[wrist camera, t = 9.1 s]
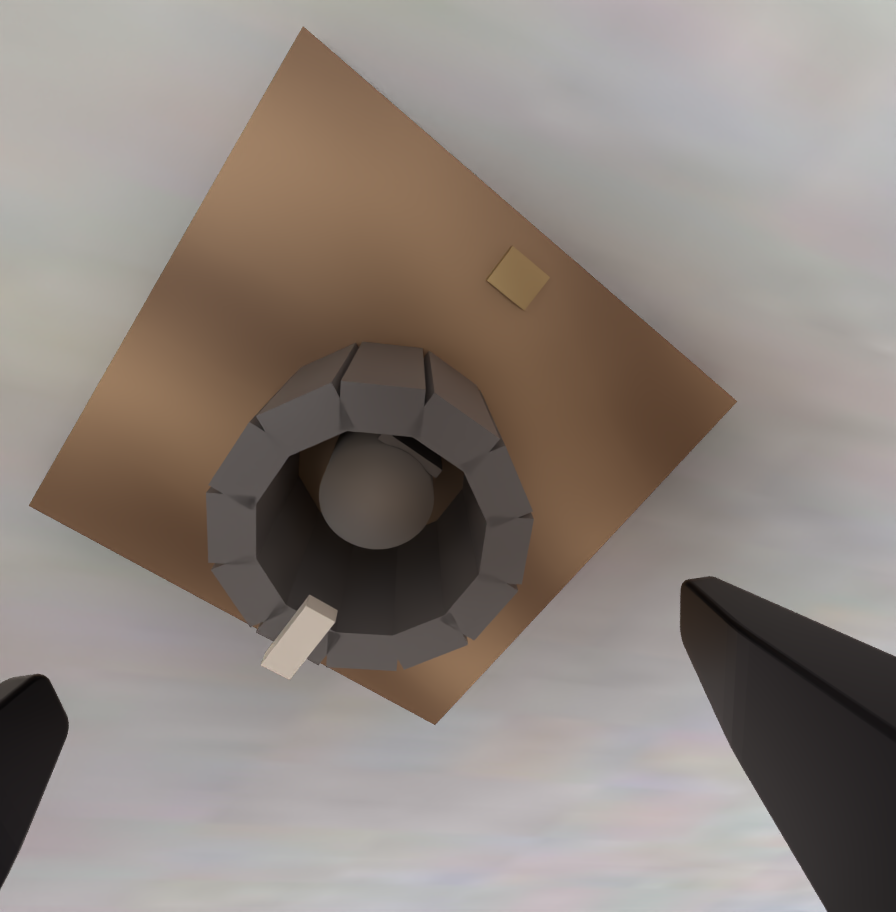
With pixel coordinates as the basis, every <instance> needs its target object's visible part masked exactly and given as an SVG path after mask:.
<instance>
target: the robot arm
mask: <svg viewBox="0 0 896 912" xmlns="http://www.w3.org/2000/svg"><path fill="white" fill-rule="evenodd" d="M680 632H681V637H682V641H683V644H684V647H685V649H686V651H687V653H688V656H689V658H690V660H691V662H692V664H693V667H694V669H695V671H696V673H697V675H698V677H699V680H700V682H701V684H702V686H703V688H704V691H705V693H706V695H707V697H708V699H709V701H710V704H711V706H712V708H713V710H714V712H715V715H716V717H717V719H718V721H719V723H720V726H721V728H722V730H723V732H724V734H725V736H726V738H727V740H728V742H729V744H730V746H731V748H732V750H733V752H734V754H735V755H736V757H737V759H738V761H739V763H740V764H741V766H742V768H743V770H744V771H745V773H746V775H747V776H748V778H749V780H750V781H751V783H752V785H753V787H754V788H755V790H756V792H757V793H758V795H759V797H760V798H761V800H762V802H763V803H764V805H765V807H766V809H767V810H768V812H769V814H770V815H771V817H772V819H773V820H774V822H775V824H776V826H777V827H778V829H779V831H780V832H781V834H782V836H783V837H784V839H785V841H786V842H787V844H788V846H789V848H790V849H791V851H792V853H793V854H794V856H795V858H796V859H797V861H798V863H799V864H800V866H801V868H802V870H803V871H804V873H805V875H806V876H807V878H808V880H809V881H810V883H811V885H812V887H813V888H814V890H815V892H816V893H817V895H818V897H819V898H820V900H821V902H822V903H823V905H824V907H825V909H826V910H827V912H896V657H895V656H893V655H891V654H889V653H886V652H884V651H882V650H879V649H877V648H875V647H873V646H870V645H868V644H866V643H864V642H861V641H859V640H857V639H854V638H852V637H850V636H848V635H845V634H843V633H841V632H839V631H836V630H834V629H832V628H829V627H827V626H825V625H823V624H820V623H818V622H816V621H814V620H811V619H809V618H807V617H804V616H802V615H800V614H798V613H795V612H793V611H791V610H789V609H786V608H784V607H782V606H779V605H777V604H775V603H773V602H770V601H768V600H766V599H764V598H761V597H759V596H757V595H754V594H752V593H750V592H748V591H745V590H743V589H741V588H739V587H736V586H734V585H732V584H729V583H727V582H725V581H723V580H720V579H718V578H716V577H711V576H708V577H701V578H695V579H688V580H685V581H684V582H683V583H682V586H681V595H680ZM68 729H69V722H68V717H67V715H66V712H65V710H64V708H63V706H62V704H61V702H60V700H59V698H58V696H57V694H56V692H55V690H54V688H53V686H52V684H51V682H50V680H49V679H48V678H47V677H46V676H44V675H41V674H33V675H26V676H19V677H13V678H10V679H8V680H6V681H4V682H2V683H0V889H1V887H2V885H3V884H4V882H5V880H6V878H7V876H8V874H9V872H10V870H11V868H12V866H13V863H14V861H15V859H16V857H17V855H18V853H19V851H20V849H21V846H22V844H23V842H24V840H25V837H26V835H27V833H28V830H29V828H30V825H31V823H32V821H33V818H34V816H35V813H36V811H37V808H38V806H39V803H40V801H41V799H42V796H43V794H44V791H45V789H46V786H47V784H48V781H49V779H50V777H51V774H52V772H53V769H54V767H55V764H56V762H57V760H58V757H59V755H60V752H61V750H62V747H63V745H64V742H65V740H66V737H67V734H68Z"/></svg>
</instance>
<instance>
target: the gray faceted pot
mask: <svg viewBox="0 0 896 912" xmlns="http://www.w3.org/2000/svg"><path fill="white" fill-rule="evenodd" d="M346 431H353V432H364V433H375V434H386V435H397V436H408V437H413V438H415V439H416V440H418V441H419V442H420V443H422V444H423V445H425V446H426V447H428V448H429V449H431V450H432V451H434V452H435V453H437V454H438V455H440V456H441V457H443V458H444V459H446V460H447V461H449V462H450V463H452V464H453V465H455V466H456V467H457V468H459V469H460V470H462V471H463V472H464V480H463V487H462V490H461V491H460V492H459V494H458V495H457V496H456V497H455V499H454V500H453V501H452V502H451V504H450V505H449V506H448V507H447V509H446V510H445V511H444V512H443V514H442V515H441V516H440V517H439V518H438V520H437V521H435V522H432V523H430V524H427V525H425V527H424V528H423V529H422V530H421V531H420V532H419V534H417V535H416V536H415V537H414V538H412V539H411V540H409V541H408V542H406V543H404V544H401V545H399V546H396V547H392V548H387V549H368V548H363V547H359V546H356V545H354V544H351V543H349V542H347V541H345V540H344V539H342V538H341V537H340V536H338V535H337V534H336V533H335V532H334V531H333V530H332V529H331V528H330V526H329V525H328V524H327V522H326V520H325V519H324V516H323V514H322V513H321V512H320V511H319V509H318V508H317V506H316V504H315V503H314V501H313V499H312V497H311V496H310V494H309V492H308V490H307V489H306V487H305V485H304V484H303V482H302V480H301V478H300V477H299V452H300V451H302V450H305V449H307V448H309V447H312V446H314V445H316V444H318V443H321V442H323V441H325V440H328V439H330V438H332V437H334V436H337V435H339V434H341V433H344V432H346ZM208 485H209V486H211V487H210V488H209V490H208V491H207V492H206V509H207V538H208V563H215V564H214V566H213V567H212V569H211V571H212V572H213V574H214V575H215V577H216V578H217V580H218V581H219V583H220V584H221V585H222V587H223V588H224V590H225V591H226V593H227V594H228V596H229V597H230V599H231V600H232V601H233V603H234V604H235V606H236V607H237V609H238V610H239V612H240V613H241V615H242V616H243V617H244V619H245V620H246V622H247V623H248V625H249V626H250V627H252V626H254V625H257V624H259V623H260V624H259V627H258V629H257V631H256V633H258V634H260V635H262V636H264V637H266V638H268V639H270V640H272V641H274V642H273V643H272V644H271V646H270V647H269V648H268V650H267V651H266V652H265V655H264V658H263V660H262V663H261V666H263V667H265V668H267V669H269V670H271V671H273V672H275V673H277V674H279V675H281V676H283V677H285V678H287V679H289V680H290V679H291V678H292V676H293V675H294V674H295V672H296V671H297V670H298V669H299V667H300V666H301V665H302V664H303V662H304V661H305V660H306V659H308V660H310V661H312V662H313V663H315V664H317V665H319V664H320V663H321V661H322V660H323V659H324V658H325V656H326V655H327V661H326V667H331V668H350V669H368V670H386V671H397V661H398V660H399V662H400V664H401V665H402V667H403V669H404V670H405V669H408V668H410V667H413V666H415V665H418V664H420V663H423V662H426V661H428V660H431V659H433V658H436V657H438V656H441V655H443V654H446V653H449V652H451V651H454V650H456V649H459V648H461V647H464V646H467V645H468V641H467V637H469V638H471V639H472V640H475V639H476V638H477V637H478V636H479V635H480V634H481V633H482V631H483V630H484V629H485V628H486V627H487V626H488V625H489V624H490V622H491V621H492V620H493V619H494V618H495V617H496V616H497V615H498V613H499V612H500V611H501V610H502V609H503V608H504V607H505V606H506V604H507V603H508V602H509V601H510V600H511V599H512V598H513V597H514V595H515V594H516V593H517V592H518V588H517V585H516V584H522V580H523V575H524V570H525V564H526V559H527V554H528V548H529V543H530V537H531V532H532V527H533V521H534V518H533V516H532V513H531V512H533V510H532V508H531V505H530V503H529V500H528V498H527V496H526V493H525V491H524V489H523V486H522V484H521V482H520V479H519V477H518V474H517V472H516V470H515V467H514V465H513V463H512V460H511V458H510V455H509V453H508V451H507V448H506V446H505V444H504V441H503V439H502V437H501V435H500V433H499V430H498V428H497V426H496V424H495V421H494V419H493V417H492V415H491V413H490V410H489V408H488V406H487V404H486V401H485V399H484V397H483V395H482V393H481V390H478V388H477V385H476V384H474V383H473V382H472V381H470V380H469V379H467V378H466V377H465V376H463V375H462V374H461V373H459V372H458V371H456V370H455V369H454V368H452V367H451V366H450V365H448V364H447V363H446V362H444V361H443V360H441V359H440V358H439V357H437V356H436V355H435V354H433V353H432V352H430V351H428V353H427V354H426V355H425V357H424V358H423V348H417V347H408V346H399V345H389V344H380V343H370V342H362V343H361V345H360V347H359V349H358V346H357V344H356V343H354V344H352V345H349V346H347V347H345V348H343V349H341V350H338V351H336V352H334V353H332V354H330V355H327V356H325V357H323V358H321V359H318V360H316V361H314V362H312V363H310V364H307V365H305V366H303V367H301V368H300V369H299V370H298V371H296V373H295V374H294V375H293V376H292V377H291V378H290V379H289V380H288V381H287V382H286V383H285V384H284V385H283V386H282V387H281V388H280V390H279V391H278V392H277V393H276V394H275V395H274V396H273V397H272V398H271V399H270V400H269V401H268V402H267V403H266V404H265V406H264V407H263V408H262V409H261V410H260V411H259V412H258V413H257V414H256V415H255V416H254V417H253V418H252V419H251V420H250V422H249V423H248V424H247V426H246V428H245V429H244V431H243V432H242V434H241V435H240V437H239V438H238V440H237V441H236V443H235V444H234V446H233V447H232V449H231V451H230V452H229V454H228V455H227V457H226V458H225V460H224V461H223V463H222V464H221V466H220V467H219V469H218V470H217V472H216V474H215V475H214V477H213V478H212V480H211V481H210V483H209V484H208Z"/></svg>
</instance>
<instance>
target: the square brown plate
mask: <svg viewBox="0 0 896 912" xmlns="http://www.w3.org/2000/svg"><path fill="white" fill-rule="evenodd" d="M362 342H370V343H380V344H389V345H399V346H408V347H417V348H423V358H424V357H425V355H426V354H427V353H428V351H430V352H432V353H433V354H435V355H436V356H437V357H439V358H440V359H441V360H443V361H444V362H446V363H447V364H448V365H450V366H451V367H452V368H454V369H455V370H456V371H458V372H459V373H461V374H462V375H463V376H465V377H466V378H467V379H469V380H470V381H472V382H473V383H474V384H476V385H477V388H478V390H481V393H482V395H483V397H484V399H485V401H486V404H487V406H488V408H489V410H490V413H491V415H492V417H493V419H494V421H495V424H496V426H497V428H498V430H499V433H500V435H501V437H502V439H503V441H504V444H505V446H506V448H507V451H508V453H509V455H510V458H511V460H512V463H513V465H514V467H515V470H516V472H517V474H518V477H519V479H520V482H521V484H522V486H523V489H524V491H525V493H526V496H527V498H528V500H529V503H530V505H531V508H532V510H533V512H531V513H532V516H533V518H534V521H533V527H532V532H531V537H530V543H529V548H528V554H527V559H526V564H525V570H524V575H523V580H522V584H516V585H517V588H518V592H517V593H516V594H515V595H514V597H513V598H512V599H511V600H510V601H509V602H508V603H507V604H506V606H505V607H504V608H503V609H502V610H501V611H500V612H499V613H498V615H497V616H496V617H495V618H494V619H493V620H492V621H491V622H490V624H489V625H488V626H487V627H486V628H485V629H484V630H483V631H482V633H481V634H480V635H479V636H478V637H477V638H476V639H475V640H472V639H471V638H469V637H467V641H468V645H467V646H464V647H461V648H459V649H456V650H454V651H451V652H449V653H446V654H443V655H441V656H438V657H436V658H433V659H431V660H428V661H426V662H423V663H420V664H418V665H415V666H413V667H410V668H408V669H405V670H404V669H403V667H402V665H401V664H400V662H399V660H398V661H397V671H386V670H368V669H350V668H331V667H329V668H330V669H332V670H334V671H336V672H338V673H340V674H342V675H343V676H345V677H347V678H349V679H351V680H353V681H355V682H356V683H358V684H360V685H362V686H364V687H366V688H368V689H369V690H371V691H373V692H375V693H377V694H379V695H380V696H382V697H384V698H386V699H388V700H390V701H392V702H393V703H395V704H397V705H399V706H401V707H403V708H405V709H406V710H408V711H410V712H412V713H414V714H416V715H418V716H419V717H421V718H423V719H425V720H427V721H429V722H431V723H432V724H434V725H435V724H436V723H437V722H438V721H439V720H440V719H441V718H442V717H443V716H444V715H445V714H446V713H447V712H448V710H449V709H450V708H451V707H452V706H453V705H454V704H455V703H456V702H457V701H458V700H459V699H460V698H461V697H462V695H463V694H464V693H465V692H466V691H467V690H468V689H469V688H470V687H471V686H472V685H473V684H474V683H475V682H476V680H477V679H478V678H479V677H480V676H481V675H482V674H483V673H484V672H485V671H486V670H487V669H488V668H489V667H490V666H491V664H492V663H493V662H494V661H495V660H496V659H497V658H498V657H499V656H500V655H501V654H502V653H503V652H504V651H505V649H506V648H507V647H508V646H509V645H510V644H511V643H512V642H513V641H514V640H515V639H516V638H517V637H518V636H519V634H520V633H521V632H522V631H523V630H524V629H525V628H526V627H527V626H528V625H529V624H530V623H531V622H532V621H533V619H534V618H535V617H536V616H537V615H538V614H539V613H540V612H541V611H542V610H543V609H544V608H545V607H546V606H547V604H548V603H549V602H550V601H551V600H552V599H553V598H554V597H555V596H556V595H557V594H558V593H559V592H560V591H561V589H562V588H563V587H564V586H565V585H566V584H567V583H568V582H569V581H570V580H571V579H572V578H573V577H574V576H575V575H576V573H577V572H578V571H579V570H580V569H581V568H582V567H583V566H584V565H585V564H586V563H587V562H588V561H589V560H590V558H591V557H592V556H593V555H594V554H595V553H596V552H597V551H598V550H599V549H600V548H601V547H602V546H603V545H604V543H605V542H606V541H607V540H608V539H609V538H610V537H611V536H612V535H613V534H614V533H615V532H616V531H617V530H618V528H619V527H620V526H621V525H622V524H623V523H624V522H625V521H626V520H627V519H628V518H629V517H630V516H631V515H632V513H633V512H634V511H635V510H636V509H637V508H638V507H639V506H640V505H641V504H642V503H643V502H644V501H645V500H646V499H647V497H648V496H649V495H650V494H651V493H652V492H653V491H654V490H655V489H656V488H657V487H658V486H659V485H660V484H661V482H662V481H663V480H664V479H665V478H666V477H667V476H668V475H669V474H670V473H671V472H672V471H673V470H674V469H675V467H676V466H677V465H678V464H679V463H680V462H681V461H682V460H683V459H684V458H685V457H686V456H687V455H688V454H689V452H690V451H691V450H692V449H693V448H694V447H695V446H696V445H697V444H698V443H699V442H700V441H701V440H702V439H703V437H704V436H705V435H706V434H707V433H708V432H709V431H710V430H711V429H712V428H713V427H714V426H715V425H716V424H717V423H718V421H719V420H720V419H721V418H722V417H723V416H724V415H725V414H726V413H727V412H728V411H729V410H730V409H731V408H732V406H733V405H734V404H735V403H736V402H737V401H736V400H735V399H734V398H733V397H732V396H730V395H729V394H728V393H727V392H726V391H725V390H723V389H722V388H721V387H720V386H719V385H718V384H716V383H715V382H714V381H713V380H712V379H711V378H710V377H708V376H707V375H706V374H705V373H704V372H703V371H701V370H700V369H699V368H698V367H697V366H696V365H694V364H693V363H692V362H691V361H690V360H689V359H688V358H686V357H685V356H684V355H683V354H682V353H681V352H679V351H678V350H677V349H676V348H675V347H674V346H672V345H671V344H670V343H669V342H668V341H667V340H666V339H664V338H663V337H662V336H661V335H660V334H659V333H657V332H656V331H655V330H654V329H653V328H652V327H651V326H649V325H648V324H647V323H646V322H645V321H644V320H642V319H641V318H640V317H639V316H638V315H637V314H635V313H634V312H633V311H632V310H631V309H630V308H629V307H627V306H626V305H625V304H624V303H623V302H622V301H620V300H619V299H618V298H617V297H616V296H615V295H613V294H612V293H611V292H610V291H609V290H608V289H607V288H605V287H604V286H603V285H602V284H601V283H600V282H598V281H597V280H596V279H595V278H594V277H593V276H591V275H590V274H589V273H588V272H587V271H586V270H585V269H583V268H582V267H581V266H580V265H579V264H578V263H576V262H575V261H574V260H573V259H572V258H571V257H569V256H568V255H567V254H566V253H565V252H564V251H563V250H561V249H560V248H559V247H558V246H557V245H556V244H554V243H553V242H552V241H551V240H550V239H549V238H547V237H546V236H545V235H544V234H543V233H542V232H541V231H539V230H538V229H537V228H536V227H535V226H534V225H532V224H531V223H530V222H529V221H528V220H527V219H526V218H524V217H523V216H522V215H521V214H520V213H519V212H517V211H516V210H515V209H514V208H513V207H512V206H510V205H509V204H508V203H507V202H506V201H505V200H504V199H502V198H501V197H500V196H499V195H498V194H497V193H495V192H494V191H493V190H492V189H491V188H490V187H488V186H487V185H486V184H485V183H484V182H483V181H482V180H480V179H479V178H478V177H477V176H476V175H475V174H473V173H472V172H471V171H470V170H469V169H468V168H466V167H465V166H464V165H463V164H462V163H461V162H460V161H458V160H457V159H456V158H455V157H454V156H453V155H451V154H450V153H449V152H448V151H447V150H446V149H444V148H443V147H442V146H441V145H440V144H439V143H438V142H436V141H435V140H434V139H433V138H432V137H431V136H429V135H428V134H427V133H426V132H425V131H424V130H422V129H421V128H420V127H419V126H418V125H417V124H416V123H414V122H413V121H412V120H411V119H410V118H409V117H407V116H406V115H405V114H404V113H403V112H402V111H401V110H399V109H398V108H397V107H396V106H395V105H394V104H392V103H391V102H390V101H389V100H388V99H387V98H385V97H384V96H383V95H382V94H381V93H380V92H379V91H377V90H376V89H375V88H374V87H373V86H372V85H370V84H369V83H368V82H367V81H366V80H365V79H363V78H362V77H361V76H360V75H359V74H358V73H357V72H355V71H354V70H353V69H352V68H351V67H350V66H348V65H347V64H346V63H345V62H344V61H343V60H341V59H340V58H339V57H338V56H337V55H336V54H335V53H333V52H332V51H331V50H330V49H329V48H328V47H326V46H325V45H324V44H323V43H322V42H321V41H319V40H318V39H317V38H316V37H315V36H314V35H313V34H311V33H310V32H309V31H308V30H307V29H306V28H304V27H302V29H301V31H300V33H299V34H298V36H297V38H296V40H295V41H294V43H293V45H292V47H291V48H290V50H289V52H288V54H287V55H286V57H285V59H284V61H283V62H282V64H281V66H280V68H279V69H278V71H277V73H276V74H275V76H274V78H273V80H272V81H271V83H270V85H269V87H268V88H267V90H266V92H265V94H264V95H263V97H262V99H261V101H260V102H259V104H258V106H257V108H256V109H255V111H254V113H253V115H252V116H251V118H250V120H249V122H248V123H247V125H246V127H245V129H244V130H243V132H242V134H241V136H240V137H239V139H238V141H237V143H236V144H235V146H234V148H233V150H232V151H231V153H230V155H229V157H228V158H227V160H226V162H225V164H224V165H223V167H222V169H221V171H220V172H219V174H218V176H217V178H216V179H215V181H214V183H213V185H212V186H211V188H210V190H209V192H208V193H207V195H206V197H205V199H204V200H203V202H202V204H201V206H200V207H199V209H198V211H197V213H196V214H195V216H194V218H193V220H192V221H191V223H190V225H189V227H188V228H187V230H186V232H185V234H184V235H183V237H182V239H181V241H180V242H179V244H178V246H177V248H176V249H175V251H174V253H173V254H172V256H171V258H170V260H169V261H168V263H167V265H166V267H165V268H164V270H163V272H162V274H161V275H160V277H159V279H158V281H157V282H156V284H155V286H154V288H153V289H152V291H151V293H150V295H149V296H148V298H147V300H146V302H145V303H144V305H143V307H142V309H141V310H140V312H139V314H138V316H137V317H136V319H135V321H134V323H133V324H132V326H131V328H130V330H129V331H128V333H127V335H126V337H125V338H124V340H123V342H122V344H121V345H120V347H119V349H118V351H117V352H116V354H115V356H114V358H113V359H112V361H111V363H110V365H109V366H108V368H107V370H106V372H105V373H104V375H103V377H102V379H101V380H100V382H99V384H98V386H97V387H96V389H95V391H94V393H93V394H92V396H91V398H90V400H89V401H88V403H87V405H86V407H85V408H84V410H83V412H82V414H81V415H80V417H79V419H78V421H77V422H76V424H75V426H74V428H73V429H72V431H71V433H70V434H69V436H68V438H67V440H66V441H65V443H64V445H63V447H62V448H61V450H60V452H59V454H58V455H57V457H56V459H55V461H54V462H53V464H52V466H51V468H50V469H49V471H48V473H47V475H46V476H45V478H44V480H43V482H42V483H41V485H40V487H39V489H38V490H37V492H36V494H35V496H34V497H33V499H32V501H31V503H30V504H29V506H30V507H32V508H34V509H36V510H38V511H40V512H41V513H43V514H45V515H47V516H49V517H51V518H53V519H54V520H56V521H58V522H60V523H62V524H64V525H66V526H67V527H69V528H71V529H73V530H75V531H77V532H79V533H80V534H82V535H84V536H86V537H88V538H90V539H91V540H93V541H95V542H97V543H99V544H101V545H103V546H104V547H106V548H108V549H110V550H112V551H114V552H116V553H117V554H119V555H121V556H123V557H125V558H127V559H129V560H130V561H132V562H134V563H136V564H138V565H140V566H142V567H143V568H145V569H147V570H149V571H151V572H153V573H154V574H156V575H158V576H160V577H162V578H164V579H166V580H167V581H169V582H171V583H173V584H175V585H177V586H179V587H180V588H182V589H184V590H186V591H188V592H190V593H192V594H193V595H195V596H197V597H199V598H201V599H203V600H204V601H206V602H208V603H210V604H212V605H214V606H216V607H217V608H219V609H221V610H223V611H225V612H227V613H229V614H230V615H232V616H234V617H236V618H238V619H240V620H242V621H243V622H245V623H247V622H246V620H245V619H244V617H243V616H242V615H241V613H240V612H239V610H238V609H237V607H236V606H235V604H234V603H233V601H232V600H231V599H230V597H229V596H228V594H227V593H226V591H225V590H224V588H223V587H222V585H221V584H220V583H219V581H218V580H217V578H216V577H215V575H214V574H213V572H212V571H211V569H212V567H213V566H214V564H215V563H208V538H207V509H206V492H207V491H208V490H209V488H210V487H211V486H209V485H208V484H209V483H210V481H211V480H212V478H213V477H214V475H215V474H216V472H217V470H218V469H219V467H220V466H221V464H222V463H223V461H224V460H225V458H226V457H227V455H228V454H229V452H230V451H231V449H232V447H233V446H234V444H235V443H236V441H237V440H238V438H239V437H240V435H241V434H242V432H243V431H244V429H245V428H246V426H247V424H248V423H249V422H250V420H251V419H252V418H253V417H254V416H255V415H256V414H257V413H258V412H259V411H260V410H261V409H262V408H263V407H264V406H265V404H266V403H267V402H268V401H269V400H270V399H271V398H272V397H273V396H274V395H275V394H276V393H277V392H278V391H279V390H280V388H281V387H282V386H283V385H284V384H285V383H286V382H287V381H288V380H289V379H290V378H291V377H292V376H293V375H294V374H295V373H296V371H298V370H299V369H300V368H301V367H303V366H305V365H307V364H310V363H312V362H314V361H316V360H318V359H321V358H323V357H325V356H327V355H330V354H332V353H334V352H336V351H338V350H341V349H343V348H345V347H347V346H349V345H352V344H354V343H356V344H357V346H358V349H359V347H360V345H361V343H362ZM299 477H300V478H301V480H302V482H303V484H304V485H305V487H306V489H307V490H308V492H309V494H310V496H311V497H312V499H313V501H314V503H315V504H316V506H317V508H318V509H319V511H320V512H321V513H322V514H323V516H324V519H325V520H326V522H327V524H328V525H329V526H330V528H331V529H332V530H333V531H334V532H335V533H336V534H337V535H338V536H340V537H341V538H342V539H344V540H345V541H347V542H349V543H351V544H354V545H356V546H359V547H363V548H368V549H387V548H392V547H396V546H399V545H401V544H404V543H406V542H408V541H409V540H411V539H412V538H414V537H415V536H416V535H417V534H419V532H420V531H421V530H422V529H423V528H424V527H425V525H427V524H430V523H432V522H435V521H437V520H438V518H439V517H440V516H441V515H442V514H443V512H444V511H445V510H446V509H447V507H448V506H449V505H450V504H451V502H452V501H453V500H454V499H455V497H456V496H457V495H458V494H459V492H460V491H461V490H462V487H463V480H464V472H463V471H462V470H460V469H459V468H457V467H456V466H455V465H453V464H452V463H450V462H449V461H447V460H446V459H444V458H443V457H441V456H440V455H438V454H437V453H435V452H434V451H432V450H431V449H429V448H428V447H426V446H425V445H423V444H422V443H420V442H419V441H418V440H416V439H415V438H413V437H408V436H397V435H386V434H375V433H364V432H353V431H346V432H344V433H341V434H339V435H337V436H334V437H332V438H330V439H328V440H325V441H323V442H321V443H318V444H316V445H314V446H312V447H309V448H307V449H305V450H302V451H300V452H299ZM247 624H248V623H247ZM259 624H260V623H259ZM259 624H257V625H254V626H253V627H255V628H256V629H258V627H259ZM326 661H327V655H326V656H325V658H324V659H323V660H322V661H321V664H323V665H325V666H326Z"/></svg>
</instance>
